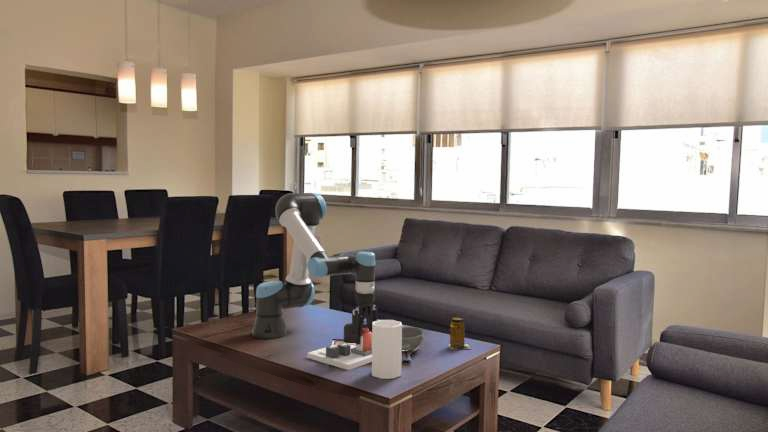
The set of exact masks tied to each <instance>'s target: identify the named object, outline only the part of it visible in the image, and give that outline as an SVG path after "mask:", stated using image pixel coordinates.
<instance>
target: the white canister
mask: <svg viewBox="0 0 768 432" xmlns="http://www.w3.org/2000/svg"><path fill="white" fill-rule="evenodd" d="M402 327H403V324H402V322H401V321H399V320H398V321H397V320H394V319H379V320H378V319H377V321H374V322H372V362H371V376H372V377H374V378H378V379H379V380H380V379H381V380H390V379H391V380H394V379H396V378H399V377H401V376H402V353H403V352H402Z"/></svg>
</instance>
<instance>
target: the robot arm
mask: <svg viewBox="0 0 768 432" xmlns="http://www.w3.org/2000/svg"><path fill="white" fill-rule="evenodd" d="M274 209H275V211H274V212H275V217H276V219H277V222H278V223H279V224H280V226H282V227H285V229H286V230H287V232H288V233H289V234H290V236H291V237H292V239H293V246H292V254H291V259H290V260H291V261H290V268H289V273H288V275H287V276H286V277H285V280H284V281H285V282H284V283H283V282H282V281H281V280H270V281H263V282H262V283H259V285H257V286H256V289H255V302H256V303H255V305H256V306H255V308H256V310H255V313H256V314H255V319H254V323H253V328H252V331H251V334H252V337H254V338H256V339H257V338H258V339H265V340H266V339H277V338H281V337H284V336H287V327H286V324H285V323H286V322H285V320H284V316H283V310H287V309H295V308H302V307H306V306H307V307H308V306H309V305H310V304H311V303H312V302H313V301H314V298H315V292H316V289H315V287H314V286H315V285H314V284H313V282H312V280H311V278H310V277H313V278H324V277H330V276H339V275H350V274H351V275H355V302H356V308H355V309H351V310H350V311H351V323H352V335H355V336H356V350H360V351H363V336H361V335H362V329H363V324H364V321H366V322H367V328H368V329H369V331H371V350H372V322H374V321H378V310H379V305H377V304H374V302H375V300H376V299H375V298H376V295H375V294H376V293H375V289H376V288H375V286H376V283H375V282H376V265H377V264H376V255H375V253H374V252H373V251H359V252H356V254H355V255H353V254H351V253H342V254H340V255H333V256H331V255H330V256H329V255H328V254H327V252H326V251H325V249H324V248H323V247H322V245H321V244H320V242H319V241H318V240H317V238H316V237H315V231H316V228H317V227H318V226H319V225H320V222H321V221H320V220H322V219H325V217H326V214H327V204H326V201H325V199H324V197H323V196H322V195H321V194H319V193H313V192H305V193H304V192H302V193H301V192H299V193H296V192H295V193H293V192H290V193H286V194H284V195H282V196H281V197H280V198H279V199H278V200H277V202H276V205H275V208H274ZM309 276H310V277H309ZM358 332H359V333H358Z"/></svg>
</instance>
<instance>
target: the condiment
mask: <svg viewBox="0 0 768 432" xmlns="http://www.w3.org/2000/svg"><path fill="white" fill-rule="evenodd" d="M450 321H451V322H450V327H449V332H450V333H449V343H448V347H449V349H451V350H470V349H471V347H470V345H469V344H467V343H465V336H466V335H465V332H466V331H465V330H466V329H465V326H466V325H465V319H464V318H462V317H453V318H451V320H450Z"/></svg>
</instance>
